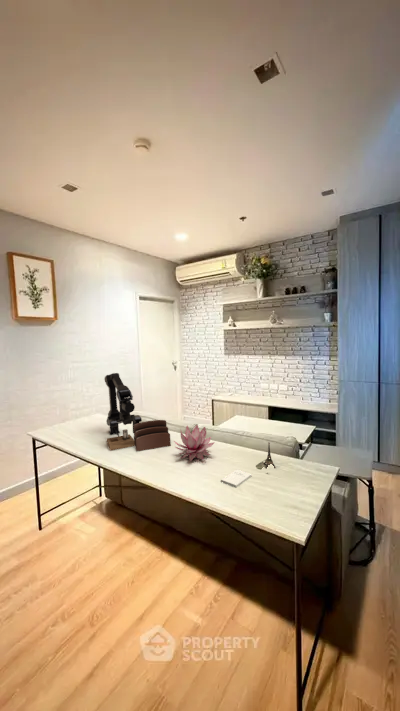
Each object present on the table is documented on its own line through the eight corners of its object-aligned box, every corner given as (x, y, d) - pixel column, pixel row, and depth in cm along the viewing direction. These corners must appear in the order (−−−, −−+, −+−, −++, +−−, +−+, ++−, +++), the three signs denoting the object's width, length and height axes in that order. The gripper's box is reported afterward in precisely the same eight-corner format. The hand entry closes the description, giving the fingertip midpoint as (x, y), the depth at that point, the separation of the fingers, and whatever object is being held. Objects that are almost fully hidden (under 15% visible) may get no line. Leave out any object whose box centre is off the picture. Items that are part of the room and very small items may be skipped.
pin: (123, 442, 180) (121, 430, 179) (128, 441, 182) (126, 428, 181) (124, 444, 178) (122, 431, 177) (129, 443, 179) (128, 430, 178)
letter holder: (134, 445, 177) (133, 422, 176) (167, 440, 183) (166, 418, 182) (136, 451, 167) (135, 427, 166) (171, 446, 174) (169, 422, 173)
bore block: (106, 444, 180) (106, 438, 180) (129, 439, 187) (129, 434, 186) (110, 450, 170) (109, 444, 169) (134, 445, 176) (134, 440, 176)
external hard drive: (220, 483, 130) (236, 472, 140) (236, 488, 125) (251, 477, 134) (220, 479, 130) (236, 468, 139) (236, 485, 125) (251, 473, 134)
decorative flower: (188, 446, 172) (187, 420, 171) (221, 452, 161) (220, 425, 160) (165, 460, 154) (164, 432, 153) (201, 468, 143) (200, 438, 142)
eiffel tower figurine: (267, 458, 153) (267, 433, 152) (286, 464, 146) (285, 437, 145) (251, 469, 142) (250, 442, 141) (269, 475, 135) (269, 447, 134)
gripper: (110, 414, 167) (112, 441, 168) (143, 409, 175) (144, 435, 176) (107, 410, 177) (109, 436, 178) (138, 405, 185) (139, 430, 186)
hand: (125, 434), depth 179 cm, fingers open, 9 cm apart
